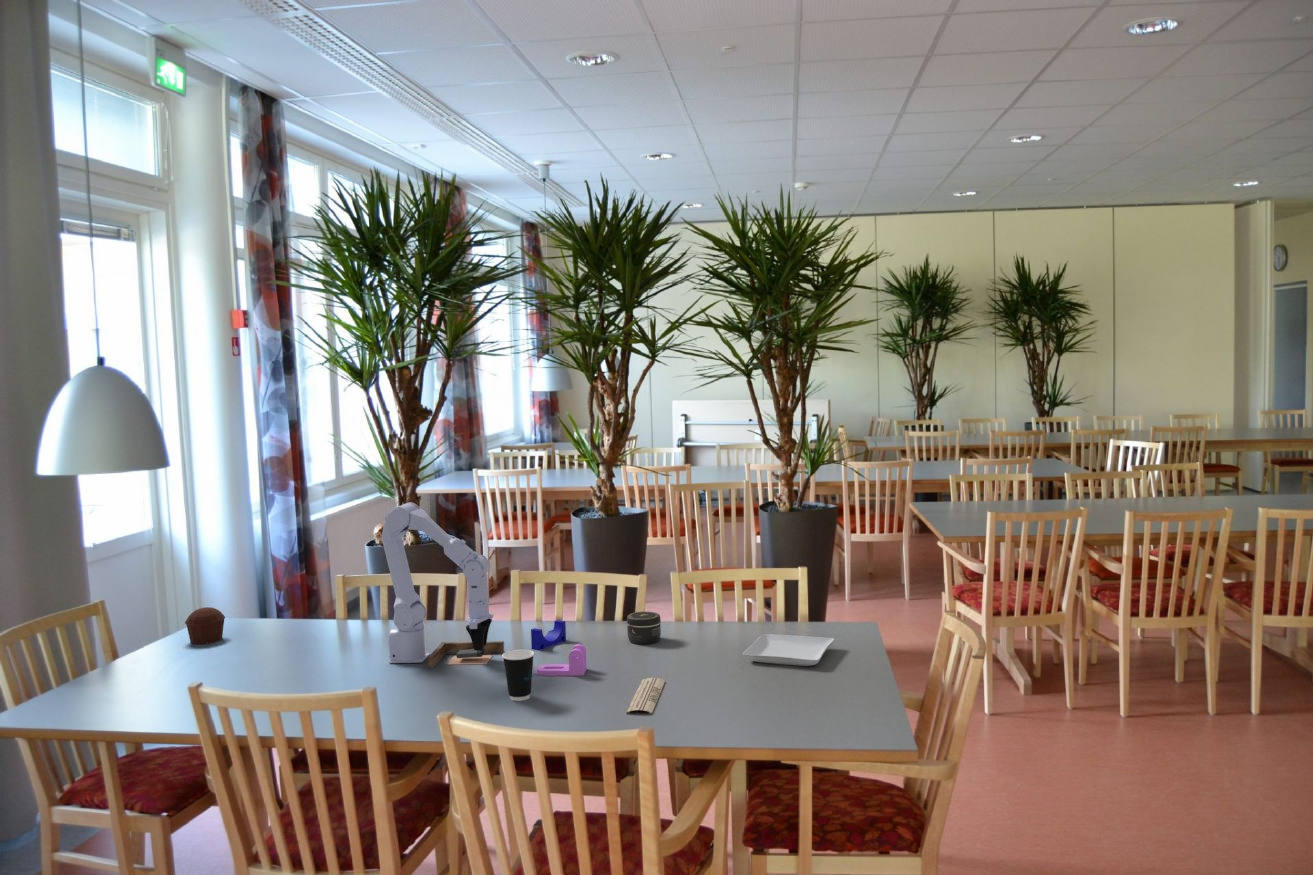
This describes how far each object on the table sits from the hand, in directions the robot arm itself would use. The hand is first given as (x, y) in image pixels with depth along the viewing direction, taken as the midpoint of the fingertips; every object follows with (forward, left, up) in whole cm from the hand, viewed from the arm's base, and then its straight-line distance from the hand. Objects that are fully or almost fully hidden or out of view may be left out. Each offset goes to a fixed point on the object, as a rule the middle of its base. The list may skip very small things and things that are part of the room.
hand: (480, 647), depth 273 cm
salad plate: (+86, -1, -4) cm, 86 cm away
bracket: (+24, -12, -4) cm, 27 cm away
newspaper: (+49, -33, -4) cm, 59 cm away
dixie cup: (+17, -32, -4) cm, 36 cm away
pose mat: (-3, 0, -3) cm, 5 cm away
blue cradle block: (+16, +15, -4) cm, 23 cm away
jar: (+45, +17, -4) cm, 48 cm away
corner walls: (-4, +1, -3) cm, 5 cm away
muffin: (-92, +26, -4) cm, 96 cm away
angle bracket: (-3, 0, -2) cm, 3 cm away
